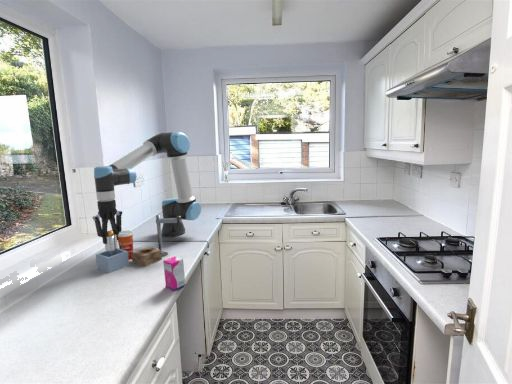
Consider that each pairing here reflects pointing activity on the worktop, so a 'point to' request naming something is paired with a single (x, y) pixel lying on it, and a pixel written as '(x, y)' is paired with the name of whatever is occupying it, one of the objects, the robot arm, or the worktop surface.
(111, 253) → the pin
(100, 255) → the blue open box
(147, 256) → the socket block
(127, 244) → the paper cup
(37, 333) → the worktop surface
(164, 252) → the base
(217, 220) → the worktop surface
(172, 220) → the grey tall angled piece
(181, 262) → the supplement box
